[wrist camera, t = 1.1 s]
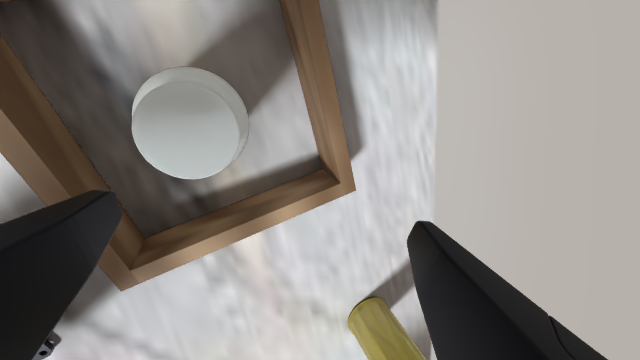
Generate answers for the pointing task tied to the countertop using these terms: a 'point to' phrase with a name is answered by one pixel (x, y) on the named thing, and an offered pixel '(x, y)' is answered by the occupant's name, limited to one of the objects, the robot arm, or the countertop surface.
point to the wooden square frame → (206, 231)
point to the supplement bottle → (189, 122)
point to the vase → (381, 332)
